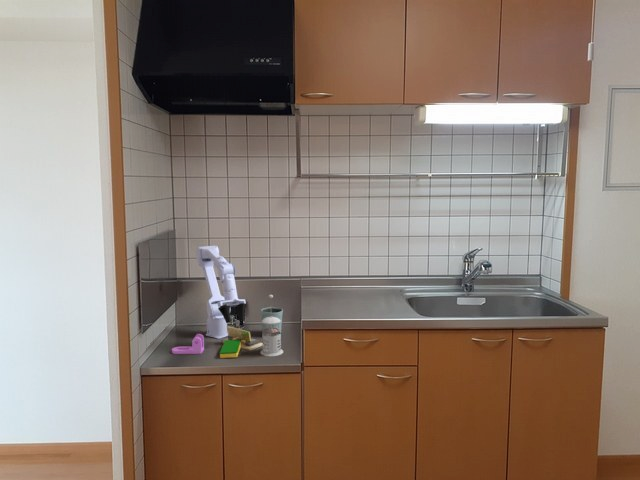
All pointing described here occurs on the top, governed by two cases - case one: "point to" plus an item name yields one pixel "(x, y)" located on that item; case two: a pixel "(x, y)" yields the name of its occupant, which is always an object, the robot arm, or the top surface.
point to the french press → (271, 337)
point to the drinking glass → (272, 313)
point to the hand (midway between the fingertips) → (235, 321)
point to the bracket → (194, 349)
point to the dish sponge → (230, 348)
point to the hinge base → (247, 343)
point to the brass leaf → (239, 334)
